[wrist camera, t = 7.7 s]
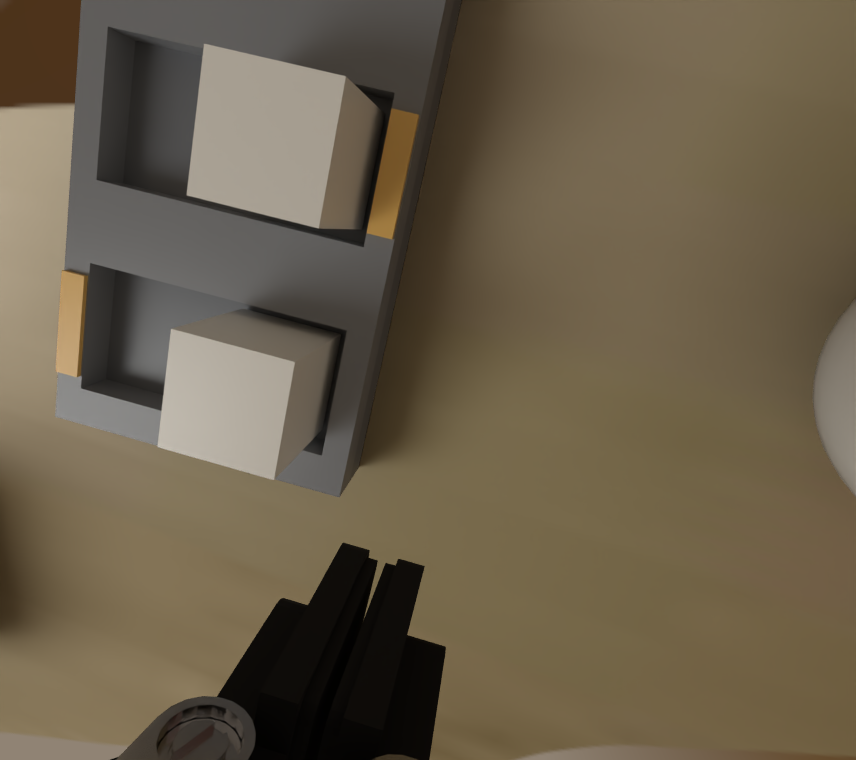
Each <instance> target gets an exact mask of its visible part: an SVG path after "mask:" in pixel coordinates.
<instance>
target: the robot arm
mask: <svg viewBox="0 0 856 760" xmlns="http://www.w3.org/2000/svg"><path fill="white" fill-rule="evenodd" d="M368 557H369V550H367V549H363V548H360V547H357V546H353V545H350V544H346V543H342V545H341V546H340V548H339V550H338V552H337V554H336V555H335V557H334V559H333V561H332V563H331V565H330V566H329V568H328V570H327V572H326V574H325V575H324V577H323V579H322V581H321V583H320V584H319V586H318V588H317V590H316V592H315V593H314V595H313V597H312V599H311V601H310V603H309V604H308V605H305V604H301V603H298V602H295V601H291V600H288V599H285V598H282V599H280V600H279V601H278V603H277V604H276V606H275V607H274V609H273V610H272V612H271V613H270V615H269V616H268V618H267V620H266V621H265V623H264V624H263V626H262V627H261V629H260V631H259V632H258V634H257V635H256V637H255V638H254V640H253V641H252V643H251V645H250V646H249V648H248V649H247V651H246V652H245V654H244V655H243V657H242V659H241V660H240V662H239V663H238V665H237V666H236V668H235V669H234V671H233V673H232V674H231V676H230V677H229V679H228V680H227V682H226V683H225V685H224V687H223V688H222V690H221V691H220V693H219V694H218V696H217V697H207V696H202V697H197V698H191V699H186V700H184V701H182V702H180V703H177V704H175V705H173V706H171V707H170V708H168V709H167V710H166V711H165V712H163V713H162V714H161V715H159V716H158V717H157V718H156V719H155V720H154V721H153V722H152V723H151V724H150V725H149V726H148V727H147V728H146V729H145V730H144V731H143V732H142V734H141V735H140V736H139V737H138V738H137V739H136V740H135V741H134V742H133V743H132V744H131V745H130V746H129V747H128V748H127V749H126V750H125V751H124V752H123V753H122V754H121V755H120V756H119V757H117V758H114V759H111V760H429V758H430V751H431V745H432V738H433V731H434V725H435V718H436V711H437V705H438V698H439V691H440V685H441V678H442V671H443V665H444V658H445V650H446V647H445V646H442V645H438V644H435V643H432V642H428V641H425V640H422V639H418V638H415V637H412V636H408V635H407V633H408V629H409V625H410V621H411V617H412V614H413V610H414V606H415V602H416V598H417V594H418V590H419V586H420V582H421V578H422V574H423V571H424V567H425V566H422V565H419V564H415V563H412V562H408V561H405V560H401V559H398V561H397V564H396V566H395V565H391V564H388V563H386V564H385V566H384V569H383V571H382V574H381V577H380V579H379V582H378V584H377V587H376V590H375V592H374V595H373V598H372V600H371V603H370V605H369V608H368V611H367V613H366V616H365V612H366V608H367V604H368V600H369V596H370V591H371V587H372V583H373V579H374V575H375V571H376V567H377V562H378V561H377V560H374V559H371V558H368ZM364 616H365V619H364ZM363 620H364V621H363Z"/></svg>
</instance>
